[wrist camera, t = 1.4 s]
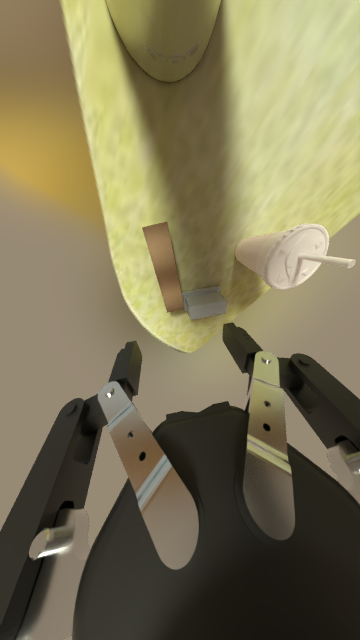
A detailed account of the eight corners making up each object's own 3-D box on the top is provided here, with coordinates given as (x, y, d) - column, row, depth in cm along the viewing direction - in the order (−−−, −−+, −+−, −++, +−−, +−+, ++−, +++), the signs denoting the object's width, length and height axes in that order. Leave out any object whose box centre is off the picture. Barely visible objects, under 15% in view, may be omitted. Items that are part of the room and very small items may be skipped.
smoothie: (268, 222, 20) (424, 208, 8) (261, 266, 23) (361, 299, 12) (227, 231, 20) (327, 230, 8) (226, 274, 23) (294, 315, 12)
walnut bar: (144, 228, 18) (142, 227, 15) (165, 223, 18) (167, 221, 15) (166, 303, 25) (167, 312, 22) (181, 299, 25) (184, 308, 22)
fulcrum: (181, 291, 24) (186, 304, 20) (218, 285, 24) (230, 296, 20) (183, 309, 26) (188, 323, 22) (217, 302, 26) (228, 315, 22)
